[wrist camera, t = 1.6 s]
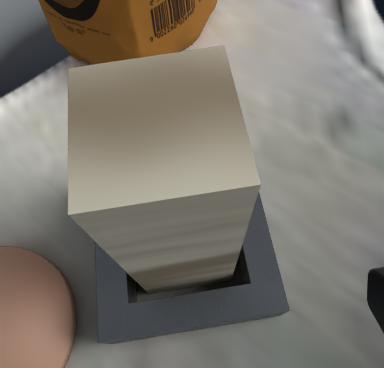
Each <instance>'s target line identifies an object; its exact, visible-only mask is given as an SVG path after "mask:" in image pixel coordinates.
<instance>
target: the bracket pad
mask: <svg viewBox="0 0 384 368" xmlns="http://www.w3.org/2000/svg"><path fill="white" fill-rule="evenodd" d="M75 332H76V307H75V301H74V297H73V294H72V291H71V288H70V286H69V284H68V282H67V280H66V279H65V277H64V276H63V274H62V273H61V272H60V271H59V269H58V268H57V267H56V266H55V265H53V264H52V263H51V262H50V261H48V260H47V259H45V258H43V257H41V256H40V255H38V254H36V253H34V252H32V251H29V250H27V249H23V248H18V247H9V246H3V247H0V368H64V367H65V365H66V363H67V361H68V359H69V356H70V353H71V350H72V347H73V342H74V338H75Z"/></svg>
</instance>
